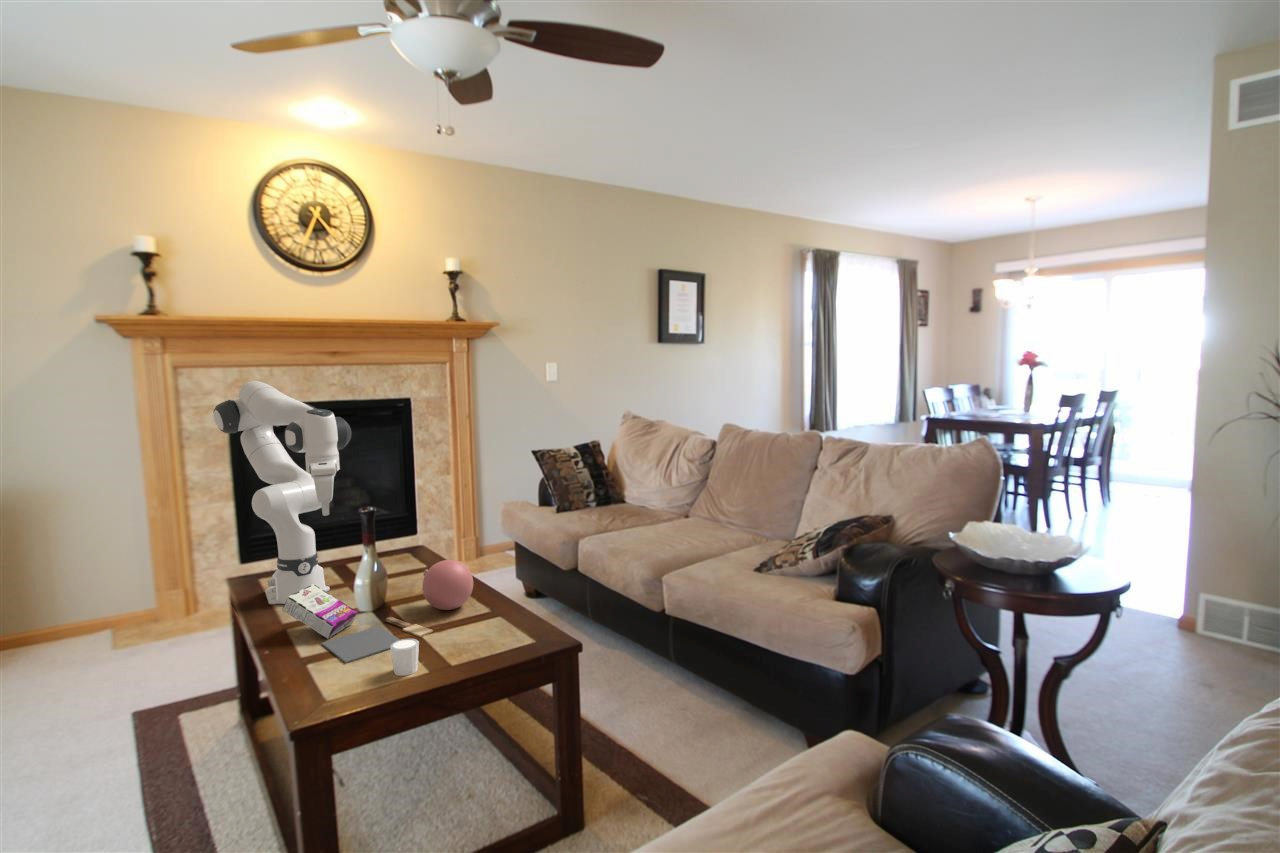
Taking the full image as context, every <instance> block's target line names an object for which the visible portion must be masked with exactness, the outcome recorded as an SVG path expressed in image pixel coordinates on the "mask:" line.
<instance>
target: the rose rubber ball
mask: <svg viewBox="0 0 1280 853" xmlns="http://www.w3.org/2000/svg"><path fill="white" fill-rule="evenodd" d="M421 586H422V594H423V596H424V599H425V600H426V602H427V603H428V604H429V605H431V607H434V608H435V609H437V610H442V611H451V610H456V609H458V608H460V607H461V606H463V605H464V604H465V603H466V602H467V601H468V600H469V599H470V597H471V596H472V593H473V589H474V578H473V574H472V572H471V570H470V569H469V568H468V567H467V566H466V565H465V564H464V563H462V562H461V561H459V560H455V559H454V560H453V559H445V560H441V561H438V562H436V563H435V564H433V565H432V566H430V567H429V569H424V573H423V580H422V585H421Z"/></svg>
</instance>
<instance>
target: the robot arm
mask: <svg viewBox="0 0 1280 853" xmlns="http://www.w3.org/2000/svg"><path fill="white" fill-rule="evenodd" d="M212 412H213V421H214V424H215V425H216V427H217V428H218V429H219V431H221V432H222V433H224V434H236V433H238V432H242V433H241V434H240V444H241V446H242V449H243V452H244V455H245V456H246V458H247V459H248V461H249V463H250V465H251V467H252V468H253V469H254V471H255V473H256V475H257V477H258V478H259V479H260V480H261V481H262V482H264V483H267V484H269V486H265V487H262V488H260V489H258V490H256V491H255V493H254V494H253V496H252V499H251V507H252V510H253V512H254V514H255V515H256V516H257V517H258V518H260V519H262V520H264V521H265V522H266V523H268V524H269V525H270V527H271V528H272V529H273V532H274V534H275V537H276V542H277V550H278V552H277V554H278V557H277V560H276V568H277V569H276V570H275V572H274V573H273V574H272V576H271V578H270V579H267V587H268V588H265V596H266V599H267V602H268V605H277V604H278V605H279V604H283V605H284V604H285V602H286V600H287V598H288V596H290V595H292V594H294V593H296V592H298V591H300V590H302V589H304V588H306V587H308V586H310V585H312V584H314V585H316V586H318V587H319V588H321V589H322V590H324V591H325V592H327V593H328V592H329V591H330V590H331V589H330V586H328V585H326V582H325V576H324V569H323V567H322V566H320V565H319V555H318V552H317V549H316V548H317V547H316V546H317V545H316V534H315V531H314V529H313V528H312V527H311V526H309V525H307V524H304V523H301V522H300V519H299V515H300V514H303V513H309V512H313V511H317V510H320V509H321V512H322V516H324V517H326V516H329V515H330V503H331V502H332V501H333V497H334V485H335V484H334V483H335V482H334V479H335V476H336V474H337V472H338V471H339V470H341V466H340V453H339V450H343V449H345V447H346V446H347V445H348V444H349V443H350V441H351V439H352V428H351V427H350V426H351V425H350V424H349V423H348V422H347V421H346V420H345V419H344V418H342V417H341V416H335V414H334V412H333V411H331V410H328V409H322V408H316V407H315V406H314V405H313V406H312V405H310V404H308V403H305V402H303V401H300V400H297V399H295V398H293V397H290V396H289V395H287V394H285V393H283V392H282V391H279V390H278V389H277V388H276V387H273V386H272V385H270V384H268V383H265V382H262V381H259V380H252V381H249V382H246V383H245V384H243V385H242V386H241V387H240V389H239V392H238V398H233V399H227V400H225V401H223V402H221V403H218V404H217V405H216V406H215V407H214V408H213V411H212ZM280 426H286V428H284V432H283V434H284V435H283V438H284V443H285V444H284V445H285V446H286V447H287V448H288V449H289V450H291V451H292V452H294V453H305V455H304V458H305V470H304V469H303V468H302V467H300V466H299V465H298V464H297V463H296V462H295V461H294V460H293V458H292V457H291V456H290V455H289V453H288V452H287V450H286V449H285V447H284V445H283V443H281V441H280V439H279V438H278V437H277V436H276V434H275V433H274V427H276V428H279V427H280Z"/></svg>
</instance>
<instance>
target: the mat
mask: <svg viewBox="0 0 1280 853" xmlns="http://www.w3.org/2000/svg"><path fill="white" fill-rule="evenodd" d="M399 640H401V639H400V638H398V637H397V636H396V635H394V634H392V633H391V632H389V631H387V630H386V629H384V628H382V627H381V626H379V625H378V626H374V627H370V628H367V629H363V630H360V631H356V632H353V633H350V634H347V635H343V636H340V637H336V638H334V639H330V640H329V639H328V640H326V641H322V642H321V646H323V647H324V648H325V649H327V650H328V651H329V652H331V653H332V654H333V655H334V656H336V657H337V658H338V659H340V660H341V661H342V662H343V663H345V664H349V663H353V662H355V661H359V660H362V659H365V658H367V657H370V656H371V657H372V656H374V655H377V654H379V653H383V652H386V651H389V650H390V651H391V649H390V646H391V644H392V643H394V642H396V641H399Z"/></svg>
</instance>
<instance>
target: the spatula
mask: <svg viewBox="0 0 1280 853" xmlns="http://www.w3.org/2000/svg"><path fill="white" fill-rule="evenodd" d="M385 621H386V622H387V623H389V624H392V625H395V626H398V627H399V628H402V631H403V632H406V633H408V634H410V635H413V636H416V637H419V638H421V637H423V636H427V635H429V634H430V633H433V632H434V629H431V628H427V627H425V626H423V625H419V624H417V623H415V624H412V623H410V622H407V621H404V620H401V619H398V618H395V617H393V616H389V617H386V618H385Z"/></svg>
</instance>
